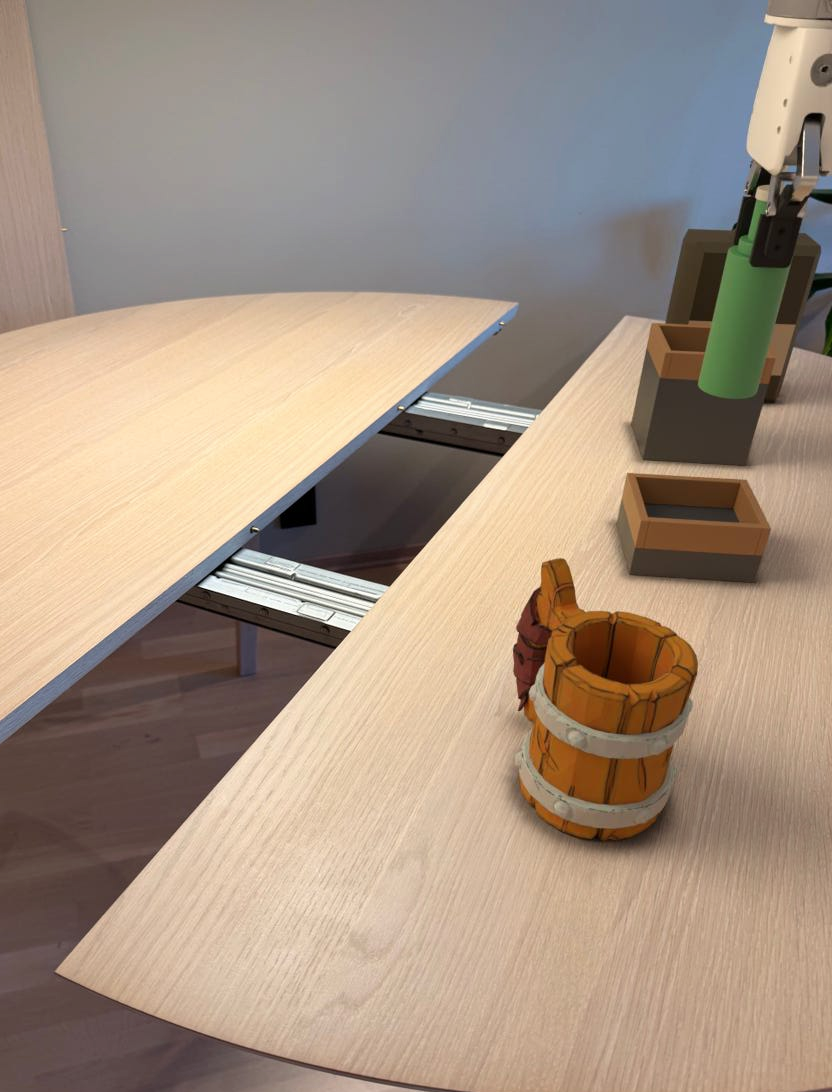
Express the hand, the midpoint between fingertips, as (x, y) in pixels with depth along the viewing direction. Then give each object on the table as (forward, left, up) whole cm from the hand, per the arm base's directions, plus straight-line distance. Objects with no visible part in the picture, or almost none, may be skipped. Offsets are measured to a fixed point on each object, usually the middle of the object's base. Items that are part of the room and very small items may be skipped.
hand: (760, 253), depth 83 cm
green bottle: (0, 0, -12) cm, 12 cm away
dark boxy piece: (-12, -43, -29) cm, 53 cm away
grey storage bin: (-5, -25, -29) cm, 38 cm away
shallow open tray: (0, +1, -29) cm, 29 cm away
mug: (+14, +34, -29) cm, 47 cm away
